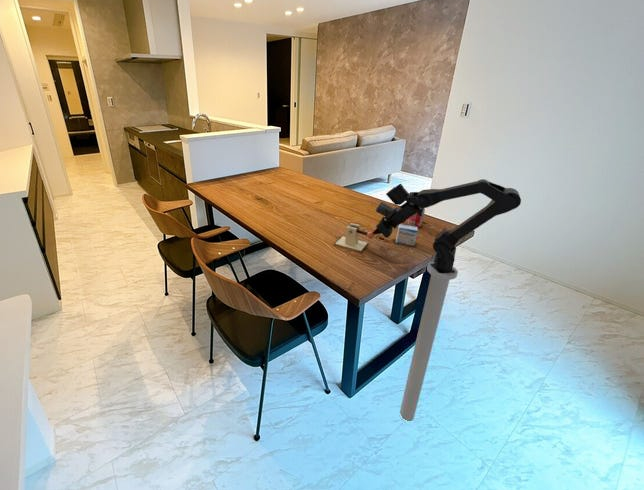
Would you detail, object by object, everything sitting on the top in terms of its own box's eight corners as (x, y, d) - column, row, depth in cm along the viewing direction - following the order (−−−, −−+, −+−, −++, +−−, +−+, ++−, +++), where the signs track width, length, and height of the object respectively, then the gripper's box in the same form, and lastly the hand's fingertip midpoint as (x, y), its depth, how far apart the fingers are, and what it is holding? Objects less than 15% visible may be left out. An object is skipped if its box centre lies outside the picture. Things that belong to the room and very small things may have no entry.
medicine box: (395, 244, 136) (398, 227, 132) (395, 239, 140) (399, 223, 136) (414, 247, 133) (418, 230, 130) (414, 242, 137) (417, 226, 133)
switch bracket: (367, 244, 136) (369, 225, 132) (361, 253, 129) (363, 232, 125) (342, 238, 142) (344, 219, 138) (335, 245, 135) (336, 226, 132)
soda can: (420, 224, 156) (425, 203, 151) (421, 230, 150) (426, 208, 145) (405, 222, 158) (410, 201, 153) (406, 228, 152) (411, 207, 147)
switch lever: (374, 237, 130) (376, 231, 129) (372, 240, 127) (373, 234, 126) (350, 230, 135) (351, 224, 134) (348, 233, 133) (349, 226, 131)
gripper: (394, 191, 126) (367, 212, 136) (383, 204, 112) (353, 226, 122) (412, 211, 125) (384, 231, 135) (403, 227, 110) (372, 247, 120)
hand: (373, 233), depth 128 cm, fingers closed, pressing on switch lever
